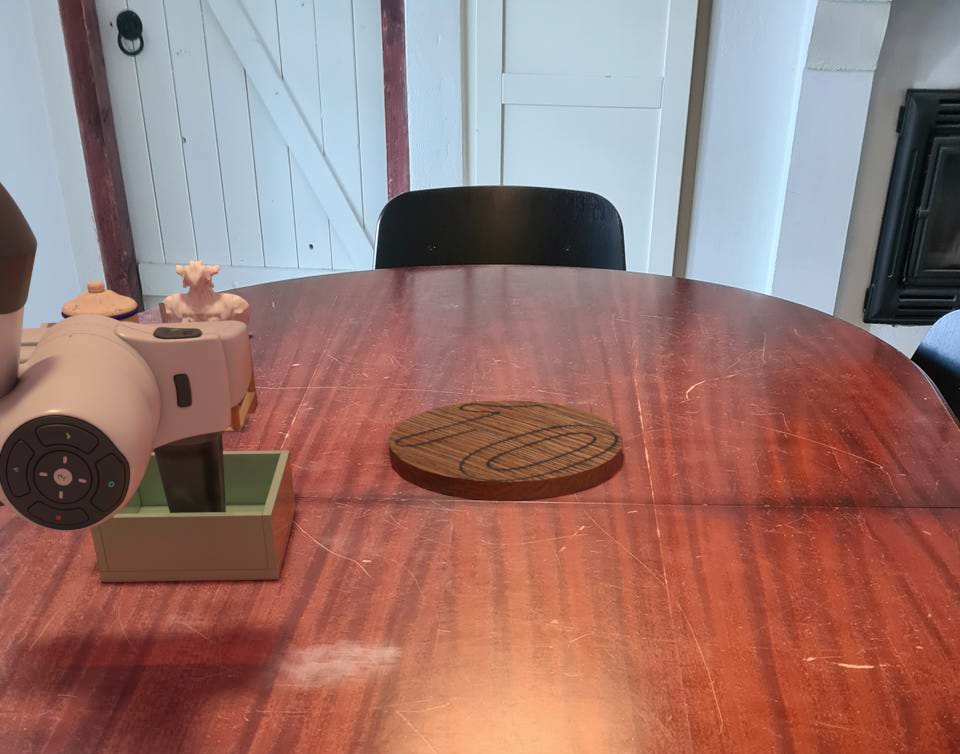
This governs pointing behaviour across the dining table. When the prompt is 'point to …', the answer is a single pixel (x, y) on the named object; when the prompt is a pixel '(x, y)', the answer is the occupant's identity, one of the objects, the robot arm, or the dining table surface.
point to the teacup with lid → (102, 304)
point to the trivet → (505, 450)
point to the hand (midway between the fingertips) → (118, 331)
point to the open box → (203, 527)
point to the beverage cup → (192, 470)
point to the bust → (204, 297)
